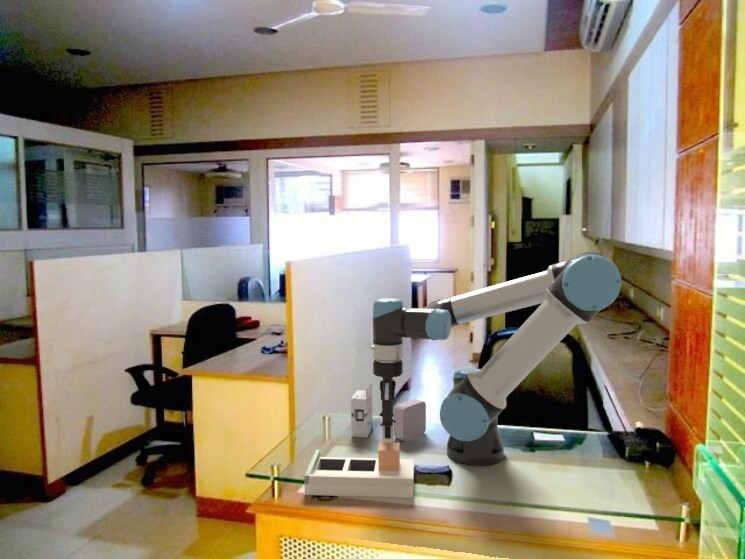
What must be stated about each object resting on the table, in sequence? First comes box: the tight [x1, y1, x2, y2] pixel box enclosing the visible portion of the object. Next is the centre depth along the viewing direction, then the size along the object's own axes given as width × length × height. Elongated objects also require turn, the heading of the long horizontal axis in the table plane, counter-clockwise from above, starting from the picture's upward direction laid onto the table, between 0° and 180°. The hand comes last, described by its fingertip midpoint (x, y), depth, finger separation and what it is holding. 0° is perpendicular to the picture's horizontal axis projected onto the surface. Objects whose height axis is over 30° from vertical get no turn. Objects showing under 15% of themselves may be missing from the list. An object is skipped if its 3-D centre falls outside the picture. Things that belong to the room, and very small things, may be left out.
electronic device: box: [393, 398, 427, 442], centre depth 160 cm, size 10×5×10 cm, turn 135°
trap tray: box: [303, 449, 415, 499], centre depth 131 cm, size 25×15×4 cm, turn 85°
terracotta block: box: [377, 441, 401, 471], centre depth 134 cm, size 5×5×5 cm
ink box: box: [350, 381, 373, 438], centre depth 162 cm, size 9×5×15 cm, turn 168°
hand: (387, 448), depth 140 cm, fingers closed
